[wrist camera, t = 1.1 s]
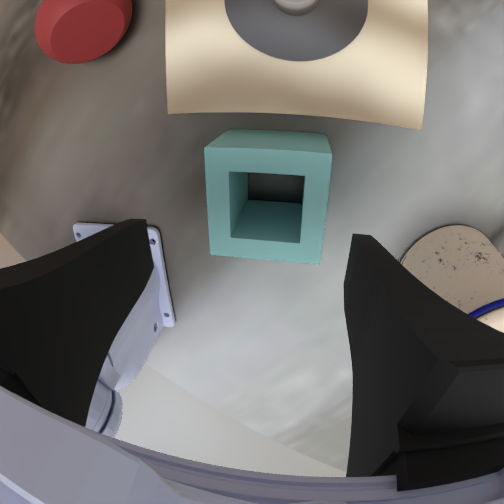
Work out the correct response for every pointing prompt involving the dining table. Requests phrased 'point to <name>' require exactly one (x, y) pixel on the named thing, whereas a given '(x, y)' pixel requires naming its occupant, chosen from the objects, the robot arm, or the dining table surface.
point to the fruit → (81, 28)
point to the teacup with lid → (461, 271)
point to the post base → (299, 58)
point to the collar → (267, 212)
